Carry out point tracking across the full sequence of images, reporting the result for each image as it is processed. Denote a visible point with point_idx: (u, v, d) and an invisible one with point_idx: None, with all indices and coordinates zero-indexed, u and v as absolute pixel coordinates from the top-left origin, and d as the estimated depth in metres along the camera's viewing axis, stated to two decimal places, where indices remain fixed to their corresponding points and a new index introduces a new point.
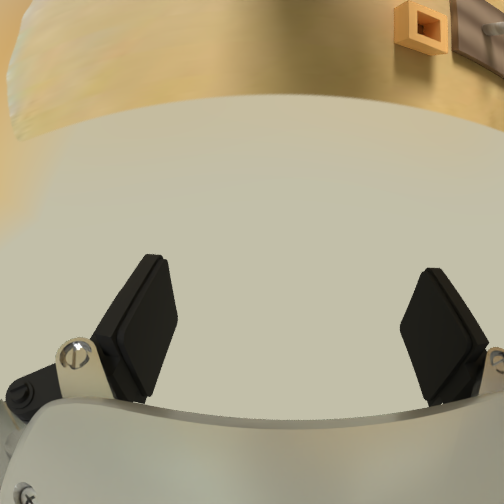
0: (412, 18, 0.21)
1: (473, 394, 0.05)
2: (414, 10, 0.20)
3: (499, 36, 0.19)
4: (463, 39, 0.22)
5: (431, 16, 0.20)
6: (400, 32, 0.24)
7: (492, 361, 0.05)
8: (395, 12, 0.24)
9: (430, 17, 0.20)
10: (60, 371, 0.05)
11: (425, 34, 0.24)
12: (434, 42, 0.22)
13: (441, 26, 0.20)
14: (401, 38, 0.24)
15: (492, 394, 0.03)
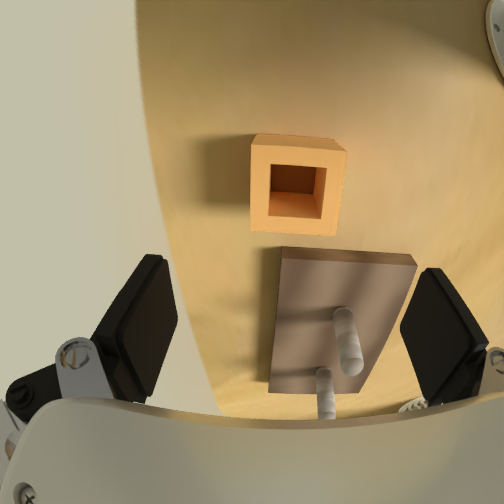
0: (302, 155, 0.17)
1: (473, 394, 0.05)
2: (324, 161, 0.17)
3: None
4: (306, 268, 0.25)
5: None
6: (273, 138, 0.19)
7: (492, 361, 0.05)
8: (323, 139, 0.20)
9: (321, 199, 0.19)
10: (60, 371, 0.05)
11: (293, 195, 0.23)
12: (262, 201, 0.19)
13: (306, 220, 0.19)
14: (259, 139, 0.19)
15: (492, 394, 0.03)
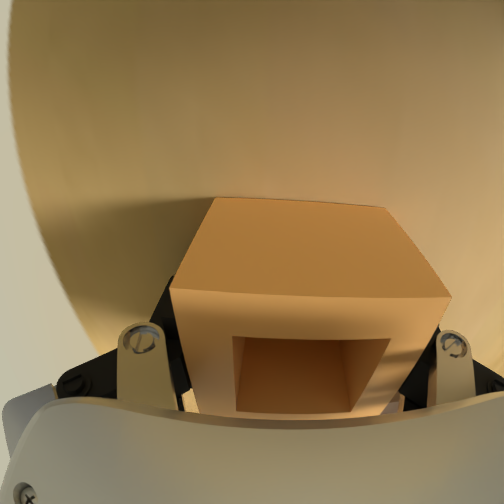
0: (331, 316, 0.05)
1: (430, 386, 0.05)
2: (389, 326, 0.06)
3: None
4: None
5: (363, 386, 0.07)
6: (250, 227, 0.08)
7: (444, 346, 0.06)
8: (367, 211, 0.09)
9: (359, 376, 0.07)
10: (126, 356, 0.06)
11: None
12: (220, 394, 0.07)
13: (319, 416, 0.08)
14: (211, 232, 0.07)
15: (492, 394, 0.03)
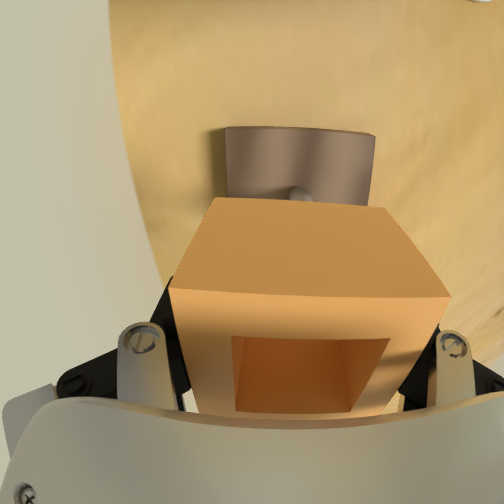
0: (330, 316, 0.05)
1: (430, 386, 0.05)
2: (388, 326, 0.06)
3: None
4: (251, 139, 0.23)
5: (362, 386, 0.07)
6: (249, 227, 0.08)
7: (444, 346, 0.06)
8: (366, 210, 0.09)
9: (358, 376, 0.07)
10: (127, 356, 0.06)
11: None
12: (219, 394, 0.07)
13: (319, 415, 0.08)
14: (210, 231, 0.07)
15: (492, 394, 0.03)
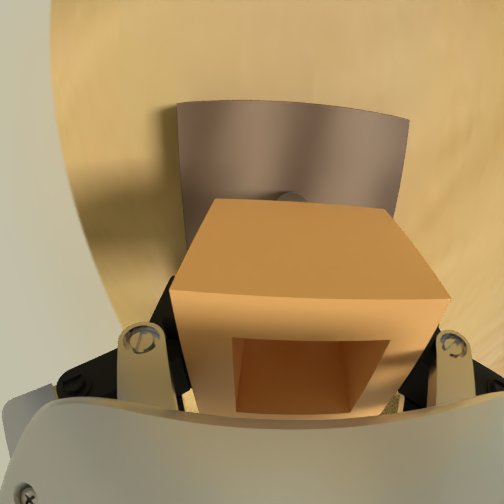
0: (330, 317, 0.05)
1: (430, 386, 0.05)
2: (388, 328, 0.06)
3: None
4: (216, 117, 0.14)
5: (362, 387, 0.07)
6: (249, 228, 0.08)
7: (444, 346, 0.06)
8: (367, 212, 0.09)
9: (358, 377, 0.07)
10: (127, 356, 0.06)
11: None
12: (220, 395, 0.07)
13: (319, 416, 0.08)
14: (211, 233, 0.07)
15: (492, 394, 0.03)
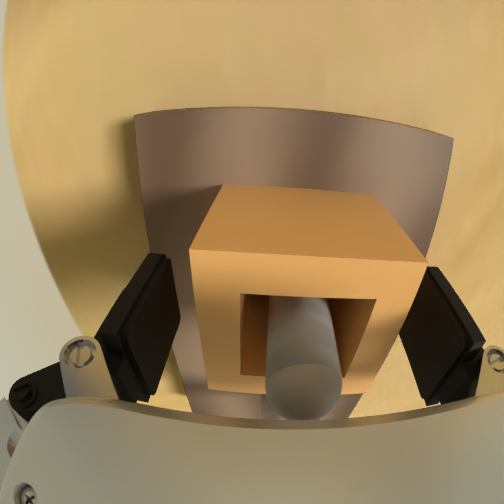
0: (323, 274, 0.07)
1: (470, 393, 0.05)
2: (374, 287, 0.07)
3: None
4: (187, 134, 0.10)
5: (355, 350, 0.08)
6: (254, 207, 0.09)
7: (489, 360, 0.05)
8: (357, 197, 0.10)
9: (351, 341, 0.09)
10: (64, 369, 0.05)
11: None
12: (227, 356, 0.08)
13: None
14: (221, 210, 0.09)
15: (492, 394, 0.03)
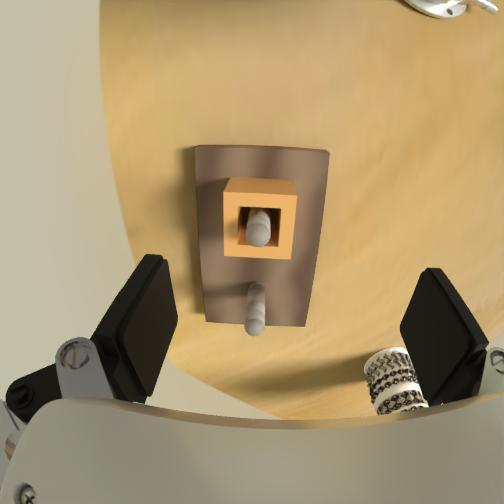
0: (262, 199, 0.23)
1: (473, 394, 0.05)
2: (279, 204, 0.23)
3: None
4: (217, 157, 0.26)
5: (279, 232, 0.25)
6: (242, 183, 0.25)
7: (492, 361, 0.05)
8: (283, 180, 0.27)
9: (279, 231, 0.25)
10: (60, 371, 0.05)
11: None
12: (232, 234, 0.25)
13: (267, 248, 0.25)
14: (231, 184, 0.25)
15: (492, 394, 0.03)
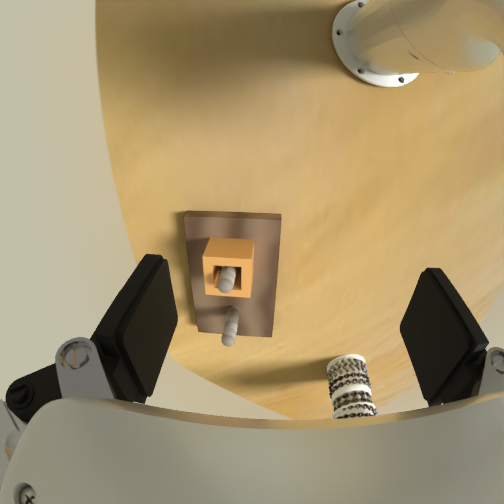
0: (228, 261, 0.35)
1: (473, 394, 0.05)
2: (239, 264, 0.35)
3: None
4: (199, 223, 0.38)
5: None
6: (217, 245, 0.37)
7: (492, 361, 0.05)
8: (247, 240, 0.38)
9: None
10: (60, 371, 0.05)
11: None
12: (210, 281, 0.37)
13: (233, 290, 0.37)
14: (209, 246, 0.37)
15: (492, 394, 0.03)
